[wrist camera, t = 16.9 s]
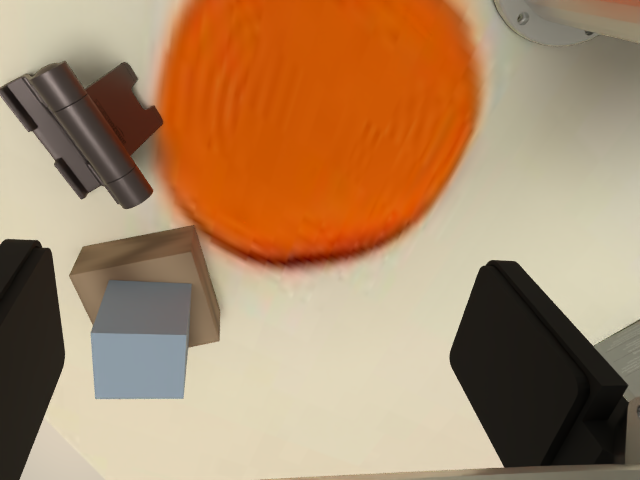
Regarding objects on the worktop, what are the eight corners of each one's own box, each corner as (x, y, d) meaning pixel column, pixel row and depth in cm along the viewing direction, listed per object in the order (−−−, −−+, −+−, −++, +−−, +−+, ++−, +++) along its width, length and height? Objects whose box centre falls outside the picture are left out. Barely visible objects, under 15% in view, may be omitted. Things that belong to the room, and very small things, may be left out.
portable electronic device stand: (4, 80, 34) (-56, 117, 27) (107, 29, 33) (75, 52, 26) (86, 188, 38) (54, 244, 31) (178, 144, 38) (167, 191, 31)
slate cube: (191, 283, 39) (186, 334, 34) (188, 342, 42) (183, 398, 37) (109, 280, 38) (90, 332, 33) (111, 341, 41) (95, 398, 35)
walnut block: (194, 223, 41) (190, 251, 38) (220, 308, 46) (219, 341, 42) (83, 244, 41) (69, 275, 37) (121, 328, 46) (111, 363, 42)
